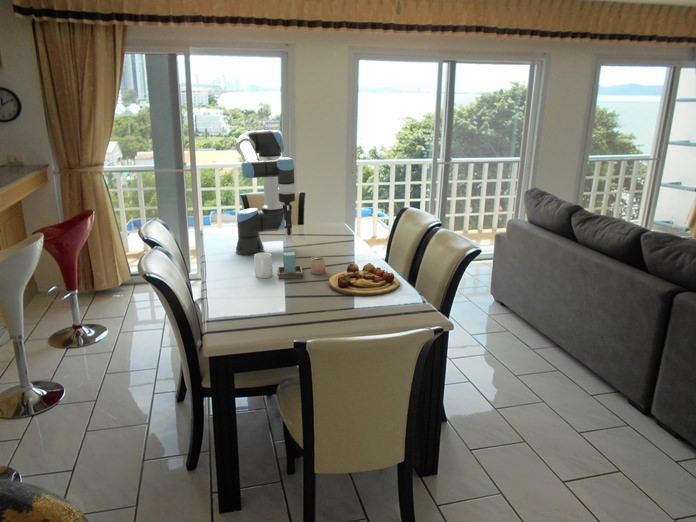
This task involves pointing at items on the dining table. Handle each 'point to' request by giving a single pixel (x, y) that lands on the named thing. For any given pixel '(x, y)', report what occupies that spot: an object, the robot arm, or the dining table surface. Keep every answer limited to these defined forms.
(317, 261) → the terracotta pot
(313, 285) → the dining table surface
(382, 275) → the wooden plate with food
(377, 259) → the dining table surface
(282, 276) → the walnut box
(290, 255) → the teal block
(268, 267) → the mug
